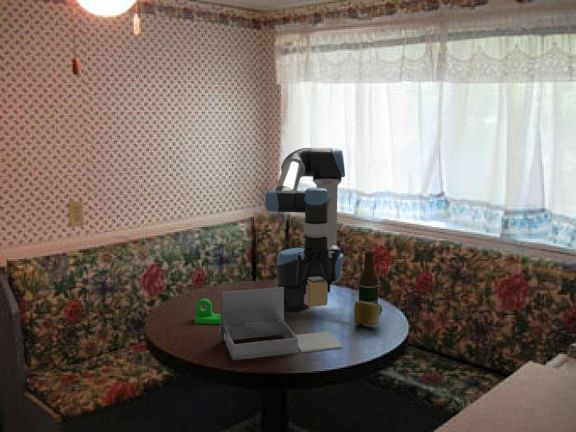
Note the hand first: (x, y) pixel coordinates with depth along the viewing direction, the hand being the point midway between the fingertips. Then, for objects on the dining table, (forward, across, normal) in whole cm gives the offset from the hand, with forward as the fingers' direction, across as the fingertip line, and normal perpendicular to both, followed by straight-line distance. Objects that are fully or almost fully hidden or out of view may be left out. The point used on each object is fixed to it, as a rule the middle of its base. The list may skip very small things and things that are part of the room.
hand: (315, 302), depth 194 cm
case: (+14, +19, -2) cm, 24 cm away
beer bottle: (+14, -30, -26) cm, 42 cm away
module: (0, 0, 0) cm, 0 cm away
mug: (+14, -23, -7) cm, 28 cm away
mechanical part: (+14, +31, -31) cm, 46 cm away
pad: (+14, 0, 0) cm, 14 cm away
